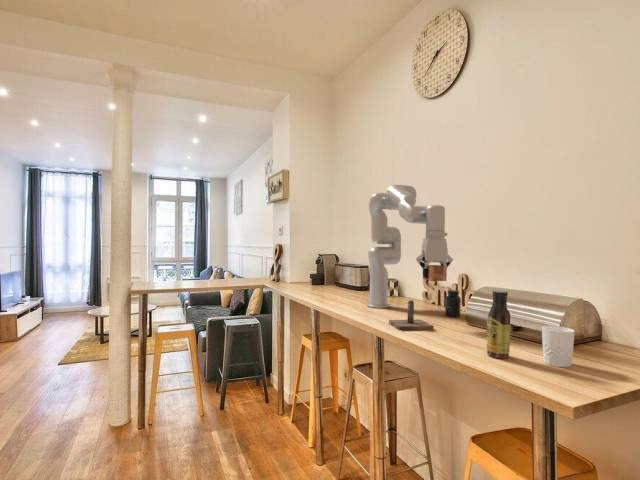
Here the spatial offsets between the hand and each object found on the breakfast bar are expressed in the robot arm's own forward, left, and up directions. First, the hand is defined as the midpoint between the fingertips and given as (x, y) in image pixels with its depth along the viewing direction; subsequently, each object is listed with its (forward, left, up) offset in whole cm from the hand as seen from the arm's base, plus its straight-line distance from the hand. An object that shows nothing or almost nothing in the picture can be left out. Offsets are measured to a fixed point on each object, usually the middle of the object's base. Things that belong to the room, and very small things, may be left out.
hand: (434, 277), depth 153 cm
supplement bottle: (-17, +18, -20) cm, 32 cm away
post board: (+2, -11, -20) cm, 23 cm away
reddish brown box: (0, 0, -1) cm, 1 cm away
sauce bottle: (+42, 0, -20) cm, 47 cm away
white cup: (+50, +13, -20) cm, 55 cm away
